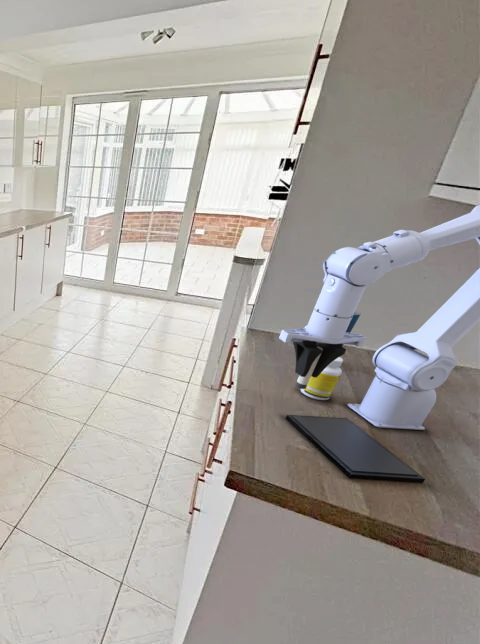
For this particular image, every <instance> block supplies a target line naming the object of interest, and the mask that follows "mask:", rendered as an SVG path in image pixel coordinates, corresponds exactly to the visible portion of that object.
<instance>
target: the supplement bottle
mask: <svg viewBox="0 0 480 644" xmlns="http://www.w3.org/2000/svg"><path fill="white" fill-rule="evenodd" d="M343 362H344V359H343V358H342V356H340V357H338V358H337V359H335V360H334V361H333V362H331V363H330V364H329V365H328V366H327V367H326V368H325V369H324V370H323V371H322V372H321V373H320V374H319V376H318V377H317V378H316V377H312V376H311V378H310V380H309V382H308V384H307V387H306V389H300V388H299V389H300V392H301V393H302V394H303V395H305V396H306V397H309V398H311V399H314V400H318V401H327V400H329V399H330V398H331V396H332V394H333V392H334V390H335V388H336V386H337V384H338V381H339V379H340V377H341V375H342V372H343V371H342V368H341V366H342V364H343Z"/></svg>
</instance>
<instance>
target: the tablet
mask: <svg viewBox="0 0 480 644" xmlns="http://www.w3.org/2000/svg"><path fill="white" fill-rule="evenodd" d="M285 420H286V421H287V422H288V423H289V424H290V425H292V426H293V427H294V428H295V429H296V430H297V431H298V432H299V433H300V434H301V435H302V436H303V437H304V438H306V439H307V440H308V441H309V442H310V443H311V444H312V445H313V447H315V448H316V449H317V450H318V451H319V452H320V453H322V454H323V455H324V456H325V457H326V458H327V460H329V461H330V462H331V463H332V464H333V465H334V466H335V467H337V469H339V471H341V472H342V473H343V475H345V476H346V477H347V478H348V479H352V480H365V481H367V480H368V481H381V482H382V481H383V482H396V483H397V482H398V483H413V484H424V483H425V481H426V478H425V477H424V476H423V475H422V474H420V473H419V472H417V471H416V470H415V469H413V468H412V467H411V466H409V465H408V464H407V463H406V462H405V461H403V460H402V459H400V458H399V457H398V456H396V455H395V454H394V453H393V452H392V451H390V450H389V449H387V448H386V447H385V446H383V444H381V443H380V442H379V441H377V440H375V438H373V437H372V436H371V435H370V434H368V433H367V432H365V431H364V430H363V429H361V427H359V426H358V425H356V424H355V423H354V422H353V421H351V420H350V419H349V418H347V417H332V416H315V415H300V414H286V416H285Z"/></svg>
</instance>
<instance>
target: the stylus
mask: <svg viewBox="0 0 480 644" xmlns="http://www.w3.org/2000/svg"><path fill="white" fill-rule="evenodd" d="M317 348H319V349H321V350H322V351H323V349H322V348H320V347H317ZM320 355H321V354H320ZM320 355H319V356H318V357H317V358H316V359H315V361H314V362H313V364H312V365H311V368H310V370H309V372H308V373H307V375H306V376H305V377H301V376H300V375H298V377H297V380H296V382H295V384H294V386H295V387H296V388H298V389H306V387H307V384H308V382H309V380H310V378H311V376H312V373H313V371H314V369H315V367H316V364H317V362H318V360H319V357H320Z"/></svg>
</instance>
